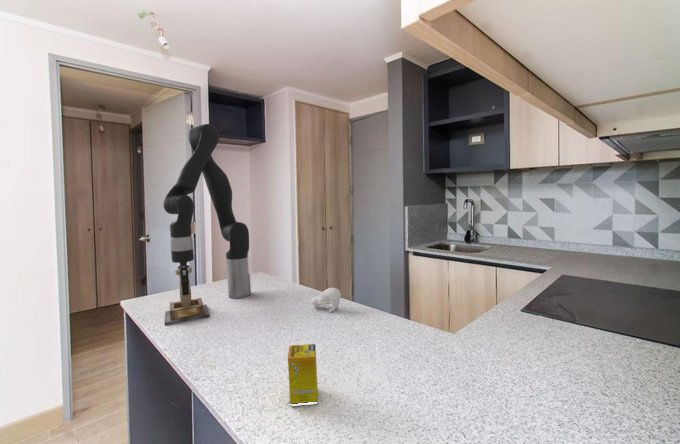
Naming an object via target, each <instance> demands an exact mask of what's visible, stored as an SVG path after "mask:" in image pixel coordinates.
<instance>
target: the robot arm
mask: <svg viewBox="0 0 680 444" xmlns="http://www.w3.org/2000/svg"><path fill="white" fill-rule="evenodd" d="M187 138H188V139H187V140H188V142H189V145H190V147H191V149H192V152H193V153H192V155H191V156H190V157H189V158H188V160H187V161H185V163H184V165H183V166H182V168H181V169H180V171H179V174H178V177H177V180H176V181H175V184H174V185H173V186H172V187H171V189H170V190H169V191H168V192H167V194H166V196H165V198H164V200H163V205H162V206H163V209H164V211H165V213H167V214H169V215H177V218H176V220H174V221H172V222H171V223H170V224H169V231H170V232H169V233H170V252H171V261H172V263H177V264H179V265H178V266H177V269H178V271H180V270H181V271H180V273H181V275H178V276H179V277H178V278H180V279H181V285H182V294H183V295H188V294H189V286H188V285H189V281H190V277H191V276H190V274H189V270H190V264H188V262H192V261H194V259H195V256H194V241H193V238H192V228H191V227H192V226H191V225H192V221H193V215H194V211H195V204H194V201H193V198H192V197H191V196H190V194H193V193H194V192H195V191H196V188H197V186H198V182H199V180H200V178H201V175H203V178H204V181H205V184H206V187H207V191H208V194H209V196H210V198H211V201H212V204H213V208H214V210H215V212H216V213H215V214H216V215H217V220H218V225H219V229H220V233H221V236H222V237H223V239H224V240H225V241H227V242H229V249H228V250H227V251H226V254H225V260H226V275H227V277H226V278H227V289H228V290H227V292H228V297H229V298H232V299H239V298H240V299H241V298H244V297H245V298H246V297H248V296H251V295H252V289H251V288H252V287H251V286H252V285H251V275H250V274H251V273H249V257H248V256H249V255H248V254H249V250H250V233H249V227H248V226H247V224H245V223H244V222H242V221H241V222H240V221H237V220H236V217H235V215H234V211H233V204H232V203H233V190H232V186H231V183H230V181H229V177H228V175H227V173H225V171H224V170H223V169H222V168H220V167H221V166H219V165H218V164H217V163H216V161H215V160H214V158H213V156H212V153H213V152H214V150H215V149H216V147H217V145H218V144H219V141H220V132H219V130H218V128H217V127H216V126H215V125H213V124H210V123H204V124H200V125H197V126H194V127H191V128H190V129H189V130H188V133H187ZM188 278H189V279H188ZM184 279H187V281H184V282H183V280H184Z"/></svg>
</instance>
